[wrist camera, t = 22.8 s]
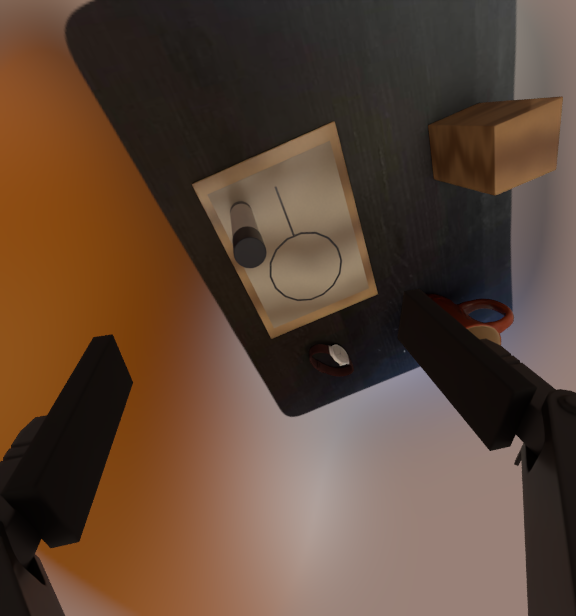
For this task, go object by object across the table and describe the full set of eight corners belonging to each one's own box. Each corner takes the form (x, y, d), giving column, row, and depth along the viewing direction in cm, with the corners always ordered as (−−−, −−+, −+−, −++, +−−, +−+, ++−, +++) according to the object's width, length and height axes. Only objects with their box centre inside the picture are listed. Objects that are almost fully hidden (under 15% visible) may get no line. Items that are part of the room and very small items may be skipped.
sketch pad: (192, 183, 33) (191, 184, 33) (332, 121, 33) (334, 121, 32) (270, 336, 45) (271, 339, 44) (376, 292, 44) (378, 294, 44)
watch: (356, 353, 50) (365, 368, 46) (337, 374, 51) (344, 390, 48) (318, 333, 46) (325, 348, 43) (299, 356, 48) (305, 372, 45)
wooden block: (427, 125, 35) (494, 126, 26) (479, 102, 35) (563, 96, 26) (433, 179, 38) (495, 195, 29) (480, 159, 38) (556, 169, 29)
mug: (408, 345, 51) (447, 392, 42) (385, 309, 46) (424, 353, 38) (476, 302, 49) (531, 341, 40) (459, 260, 44) (518, 294, 36)
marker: (227, 201, 34) (231, 239, 23) (250, 199, 35) (264, 235, 24) (231, 224, 36) (236, 270, 25) (253, 222, 36) (268, 266, 25)
